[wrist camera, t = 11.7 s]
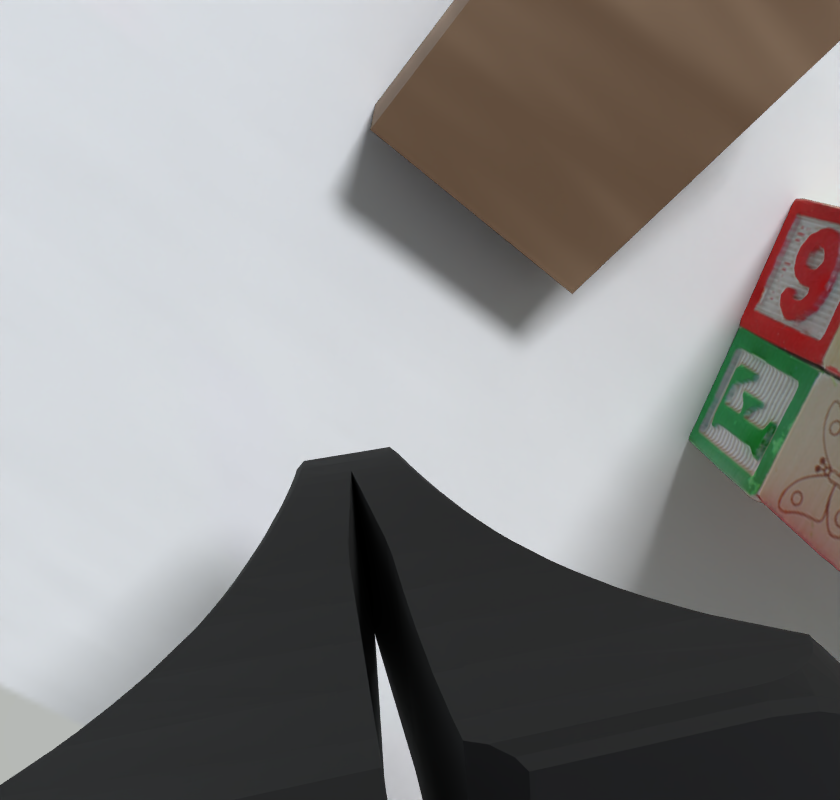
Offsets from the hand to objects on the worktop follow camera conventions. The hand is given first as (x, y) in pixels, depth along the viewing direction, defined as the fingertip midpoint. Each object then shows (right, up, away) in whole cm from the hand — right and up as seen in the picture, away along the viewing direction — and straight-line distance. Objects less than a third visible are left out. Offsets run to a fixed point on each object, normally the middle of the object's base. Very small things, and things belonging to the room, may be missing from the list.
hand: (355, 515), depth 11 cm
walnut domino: (+2, +5, +4) cm, 7 cm away
